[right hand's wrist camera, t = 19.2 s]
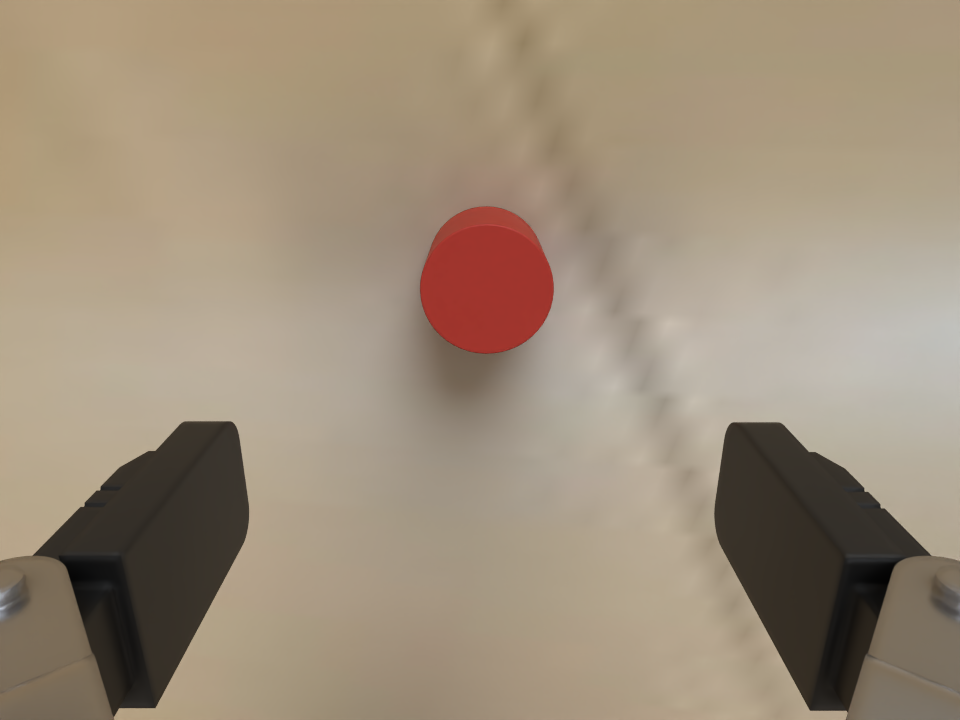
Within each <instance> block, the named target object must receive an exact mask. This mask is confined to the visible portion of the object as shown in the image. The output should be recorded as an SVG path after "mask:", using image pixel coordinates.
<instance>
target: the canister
mask: <svg viewBox="0 0 960 720" xmlns="http://www.w3.org/2000/svg"><path fill="white" fill-rule="evenodd" d="M553 293H554V284H553V277H552V272H551V269H550V266H549V263H548V261H547V259H546V257H545V254H544V252H543V250H542V247H541V245H540V243H539V241H538V238H537V236H536V235H535V233H534V231H533V230H532V229H531V228H530V226H529V225H528V224H527V223H526V222H525V221H524V220H523V219H521V218H520V217H518V216H517V215H515V214H513V213H511V212H510V211H507V210H504V209H501V208H496V207H476V208H471V209H468V210H465V211H463V212H461V213H459V214H457V215H455V216H454V217H452V218H451V219H450V220H449V221H447V222H446V223H445V224H444V225H443V227H442V228H441V229H440V230H439V232H438V233H437V235H436V237H435V239H434V241H433V243H432V246H431V249H430V252H429V254H428V257H427V260H426V263H425V266H424V269H423V272H422V276H421V282H420V294H421V301H422V306H423V309H424V312H425V314H426V316H427V318H428V320H429V322H430V323H431V325H432V326H433V328H434V329H435V330H436V331H437V332H438V333H439V334H440V335H441V336H442V337H443V338H444V339H445V340H447V341H448V342H450V343H451V344H453V345H455V346H457V347H459V348H461V349H464V350H467V351H470V352H475V353H485V354H488V353H498V352H503V351H507V350H510V349H512V348H515V347H517V346H519V345H521V344H522V343H524V342H526V341H527V340H528V339H529V338H531V337H532V336H533V335H534V334H535V333H536V332H537V331H538V330H539V328H540V327H541V326H542V324H543V323H544V321H545V319H546V318H547V316H548V313H549V311H550V308H551V304H552V301H553Z"/></svg>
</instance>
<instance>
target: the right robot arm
mask: <svg viewBox="0 0 960 720" xmlns="http://www.w3.org/2000/svg"><path fill="white" fill-rule="evenodd" d="M714 514H715V527H716V533H717V537H718V540H719V543H720V545H721V547H722V549H723V551H724V553H725V555H726V556H727V558H728V560H729V562H730V564H731V566H732V568H733V569H734V571H735V573H736V575H737V577H738V579H739V580H740V582H741V584H742V586H743V588H744V590H745V592H746V593H747V595H748V597H749V599H750V601H751V603H752V604H753V606H754V608H755V610H756V612H757V614H758V615H759V617H760V619H761V621H762V623H763V625H764V627H765V628H766V630H767V632H768V634H769V636H770V638H771V639H772V641H773V643H774V645H775V647H776V649H777V651H778V652H779V654H780V656H781V658H782V660H783V662H784V663H785V665H786V667H787V669H788V671H789V673H790V675H791V676H792V678H793V680H794V682H795V684H796V686H797V687H798V689H799V691H800V693H801V695H802V697H803V699H804V700H805V702H806V704H807V706H808V708H809V710H810V711H847V712H848V714H847V718H846V720H960V561H958V560H954V559H949V558H944V557H936V556H931V555H930V554H929V553H928V552H927V551H926V550H925V549H924V548H923V547H922V546H921V545H920V544H919V543H918V542H917V541H916V540H915V539H914V538H913V537H912V536H911V535H910V534H909V533H908V532H907V531H906V530H905V529H904V528H903V527H902V526H901V525H900V524H899V523H898V522H897V521H896V520H895V519H894V518H893V517H892V516H891V515H890V514H889V513H888V512H887V511H886V510H885V509H881V507H880V503H879V502H878V501H877V500H876V499H875V498H874V497H873V496H872V495H871V494H870V493H869V492H864V487H863V486H862V485H861V484H860V483H859V482H858V481H857V480H856V479H855V478H854V477H853V476H852V475H851V474H850V473H849V472H848V471H847V470H846V469H845V468H843V467H841V466H839V465H837V464H836V463H834V462H832V461H830V460H828V459H827V458H825V457H823V456H821V455H820V454H818V453H816V452H808V451H807V450H806V448H805V447H804V446H803V445H802V444H801V443H800V442H799V441H798V440H797V439H796V438H795V437H794V436H793V435H792V434H791V432H790V431H789V430H788V429H787V428H786V427H785V426H784V425H783V424H781V423H777V422H733V423H731V424H730V425H729V426H728V428H727V431H726V434H725V439H724V445H723V452H722V459H721V466H720V473H719V480H718V487H717V494H716V501H715V513H714ZM248 523H249V504H248V496H247V489H246V482H245V475H244V468H243V461H242V454H241V446H240V439H239V434H238V430H237V428H236V426H235V424H234V423H233V422H231V421H187V422H183V423H181V424H180V425H179V426H178V427H177V428H176V429H175V431H174V432H173V433H172V434H171V435H170V436H169V437H168V438H167V439H166V440H165V441H164V442H163V443H162V445H161V446H160V447H159V448H158V449H157V450H156V451H148V452H146V453H144V454H143V455H141V456H139V457H137V458H136V459H134V460H132V461H130V462H128V463H127V464H125V465H123V466H121V467H120V468H119V469H118V470H117V471H116V472H115V473H114V474H113V475H112V476H111V477H110V478H109V479H108V480H107V481H106V482H105V483H104V484H103V485H102V486H101V490H100V491H96V492H95V493H94V494H93V495H92V496H91V497H90V498H89V499H88V500H87V501H86V502H85V506H84V507H80V508H79V509H78V510H77V511H76V512H75V513H74V514H73V515H72V516H71V517H70V518H69V519H68V520H67V521H66V522H65V523H64V524H63V525H62V526H61V527H60V528H59V529H58V530H57V531H56V532H55V534H54V535H53V536H52V537H51V538H50V539H49V540H48V541H47V542H46V543H45V544H44V545H43V546H42V547H41V548H40V549H39V550H38V551H37V552H36V553H35V554H34V555H33V556H24V557H16V558H11V559H6V560H2V561H0V720H114V716H115V714H116V712H117V711H118V709H119V708H156V706H157V704H158V702H159V700H160V698H161V697H162V695H163V693H164V691H165V689H166V687H167V685H168V683H169V682H170V680H171V678H172V676H173V674H174V672H175V670H176V668H177V667H178V665H179V663H180V661H181V659H182V657H183V655H184V654H185V652H186V650H187V648H188V646H189V644H190V642H191V640H192V639H193V637H194V635H195V633H196V631H197V629H198V627H199V626H200V624H201V622H202V620H203V618H204V616H205V614H206V612H207V611H208V609H209V607H210V605H211V603H212V601H213V599H214V598H215V596H216V594H217V592H218V590H219V588H220V586H221V584H222V583H223V581H224V579H225V577H226V575H227V573H228V571H229V570H230V568H231V566H232V564H233V562H234V560H235V558H236V556H237V555H238V553H239V551H240V549H241V547H242V545H243V543H244V541H245V538H246V534H247V529H248Z"/></svg>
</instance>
